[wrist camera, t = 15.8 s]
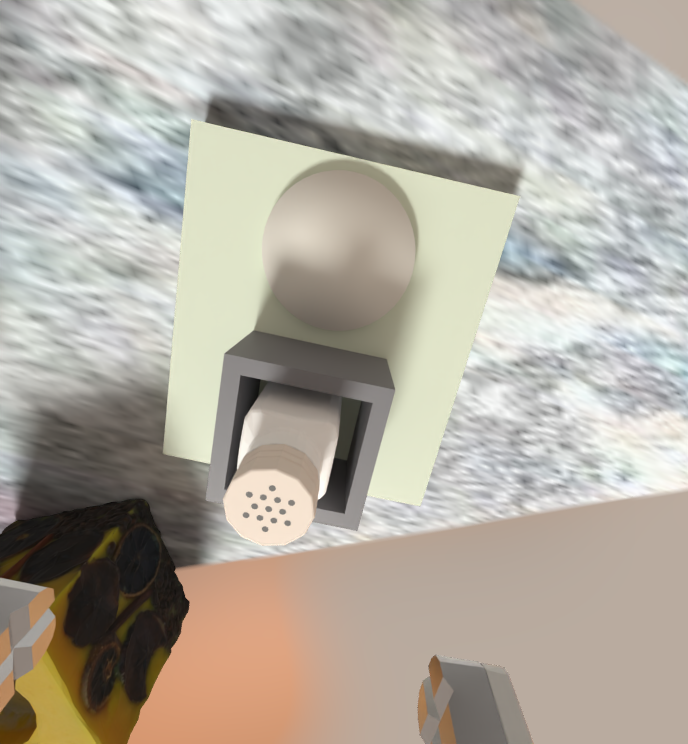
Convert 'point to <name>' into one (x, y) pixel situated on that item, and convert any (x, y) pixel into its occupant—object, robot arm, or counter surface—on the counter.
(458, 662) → the robot arm
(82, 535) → the candle
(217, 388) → the cream holder tray
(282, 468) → the salt shaker
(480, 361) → the counter surface
